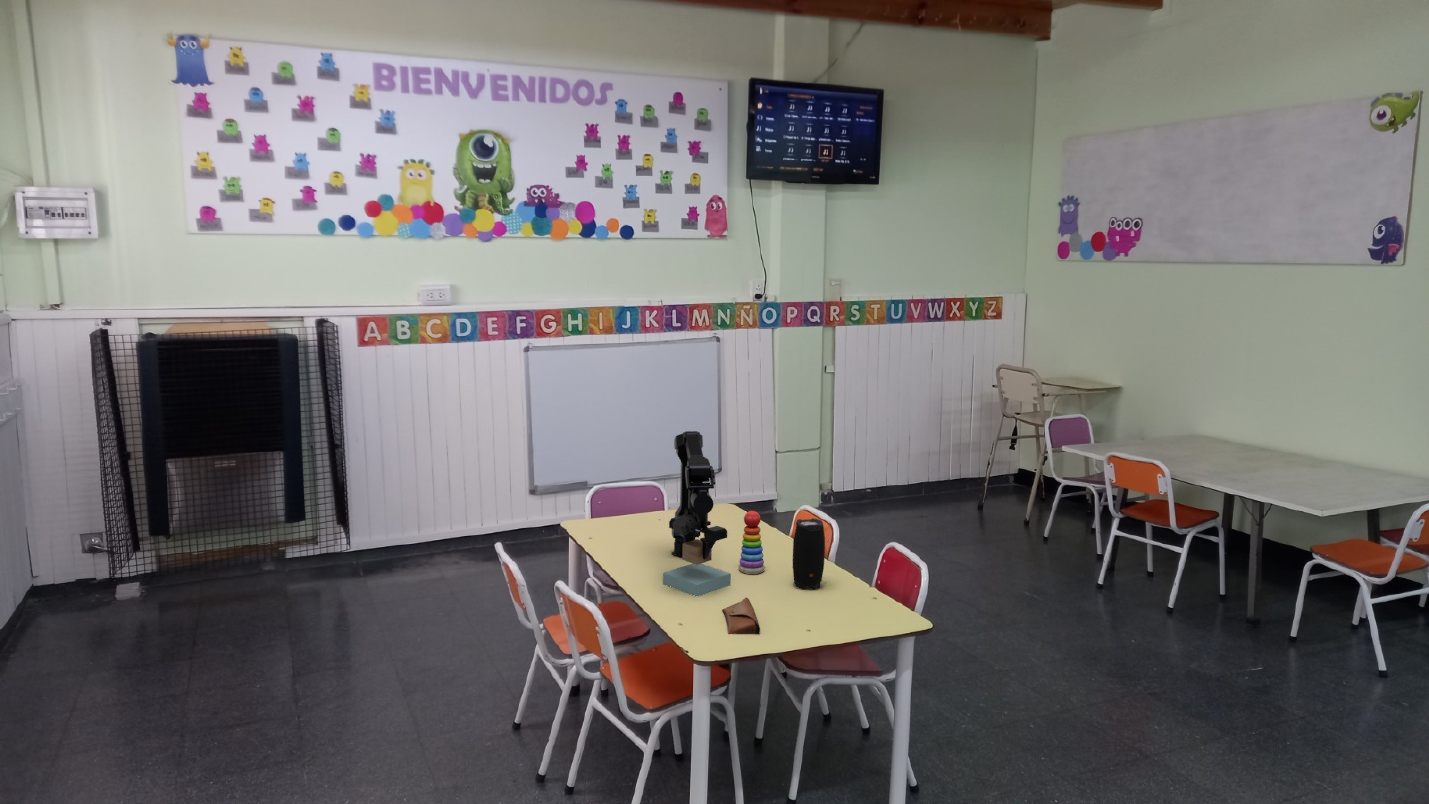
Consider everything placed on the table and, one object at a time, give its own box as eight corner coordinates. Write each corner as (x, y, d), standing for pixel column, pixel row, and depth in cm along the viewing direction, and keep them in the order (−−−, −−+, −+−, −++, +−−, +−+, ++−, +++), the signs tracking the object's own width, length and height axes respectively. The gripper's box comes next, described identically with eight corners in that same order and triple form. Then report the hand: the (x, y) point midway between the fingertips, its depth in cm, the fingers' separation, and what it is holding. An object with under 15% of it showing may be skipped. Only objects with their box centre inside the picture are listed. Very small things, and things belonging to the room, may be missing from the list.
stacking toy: (768, 569, 293) (770, 510, 290) (758, 576, 286) (760, 516, 283) (744, 565, 296) (746, 506, 293) (734, 572, 289) (736, 513, 286)
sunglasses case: (719, 608, 260) (732, 588, 259) (741, 620, 261) (753, 600, 260) (727, 635, 242) (741, 613, 242) (750, 647, 243) (764, 626, 243)
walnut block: (696, 555, 281) (697, 539, 280) (711, 560, 277) (711, 543, 276) (682, 559, 277) (682, 543, 276) (697, 564, 273) (697, 548, 272)
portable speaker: (820, 592, 274) (823, 527, 271) (788, 588, 276) (790, 523, 273) (825, 582, 282) (828, 519, 279) (794, 579, 285) (797, 516, 281)
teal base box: (696, 574, 288) (696, 562, 287) (730, 586, 278) (730, 573, 278) (662, 585, 278) (663, 572, 277) (696, 598, 268) (697, 584, 268)
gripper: (655, 503, 275) (655, 555, 277) (702, 516, 262) (700, 570, 265) (683, 496, 283) (682, 547, 285) (729, 509, 270) (727, 561, 273)
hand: (697, 556), depth 277 cm, fingers closed on walnut block, 6 cm apart
